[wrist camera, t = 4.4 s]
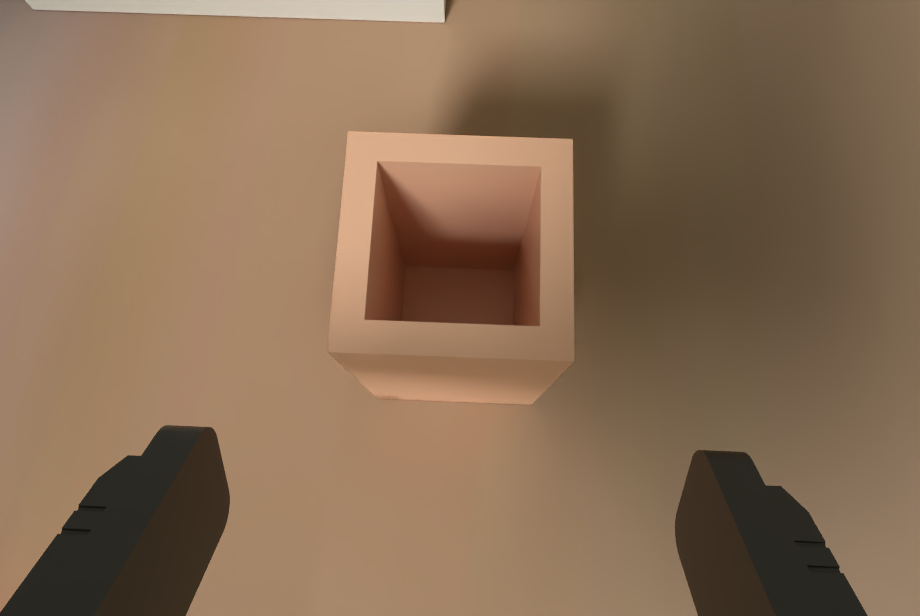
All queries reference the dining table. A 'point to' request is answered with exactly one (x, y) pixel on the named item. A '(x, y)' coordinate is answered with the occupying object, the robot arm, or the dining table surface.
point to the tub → (455, 266)
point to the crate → (265, 8)
